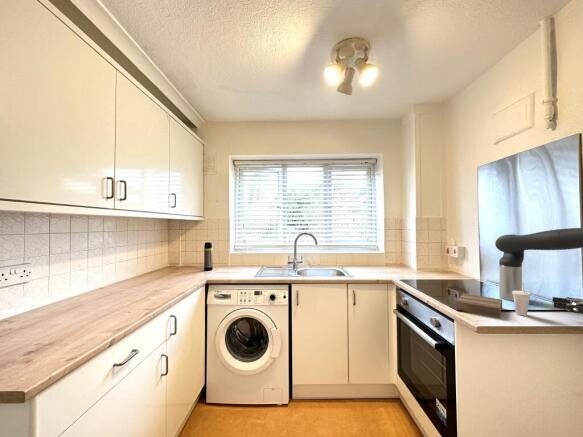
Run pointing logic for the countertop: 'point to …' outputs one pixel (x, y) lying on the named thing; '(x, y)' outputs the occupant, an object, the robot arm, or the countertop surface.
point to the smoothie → (521, 301)
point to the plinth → (479, 305)
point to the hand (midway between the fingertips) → (553, 302)
